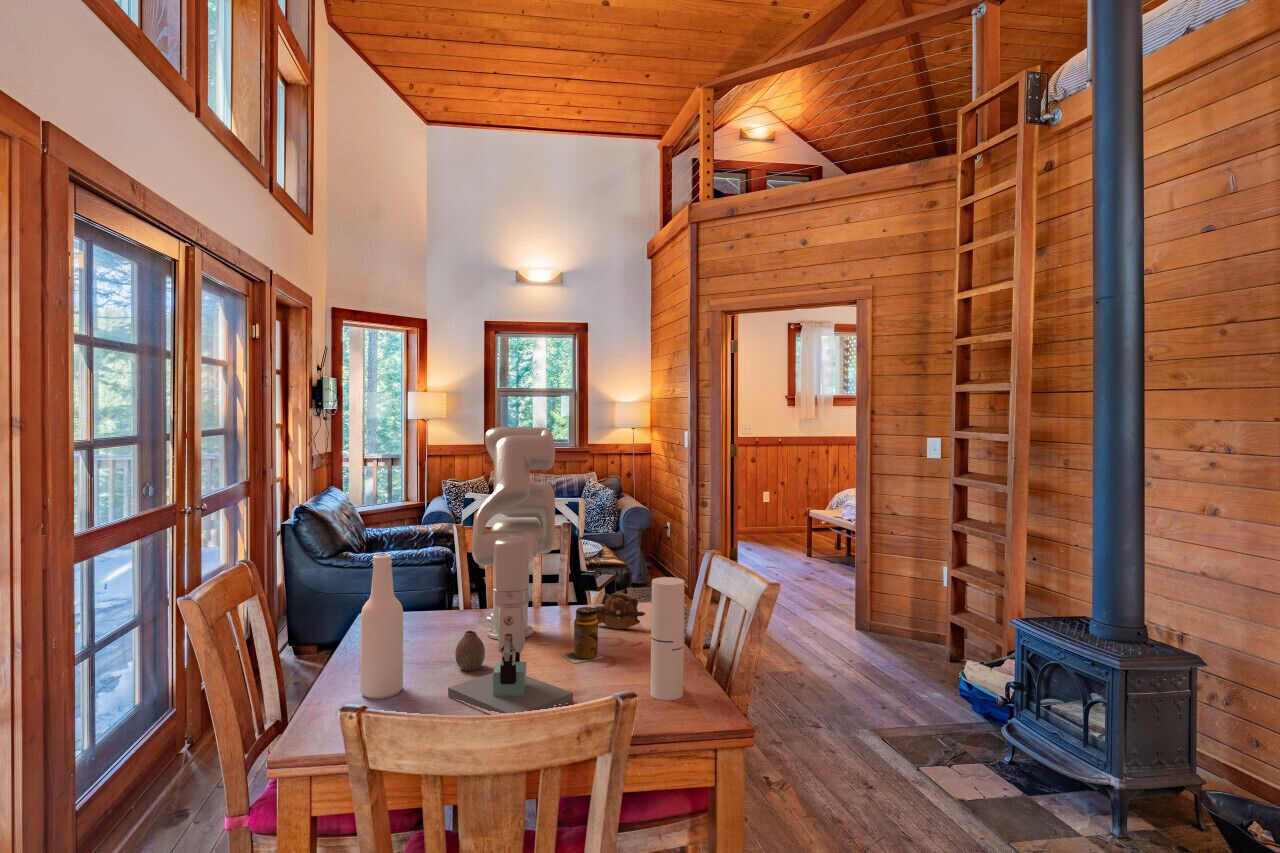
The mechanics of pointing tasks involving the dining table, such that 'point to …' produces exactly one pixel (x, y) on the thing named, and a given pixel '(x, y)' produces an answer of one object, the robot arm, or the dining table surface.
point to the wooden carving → (618, 611)
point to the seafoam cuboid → (510, 689)
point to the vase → (470, 652)
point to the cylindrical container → (667, 638)
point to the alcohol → (381, 635)
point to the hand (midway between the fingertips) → (510, 674)
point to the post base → (533, 699)
